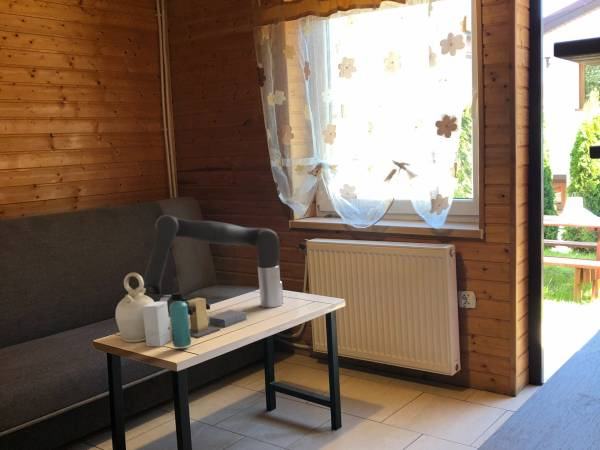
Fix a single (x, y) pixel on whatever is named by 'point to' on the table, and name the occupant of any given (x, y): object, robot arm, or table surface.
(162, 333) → the skincare box
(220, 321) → the grey metal rectangular block
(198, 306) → the tall wooden pillar
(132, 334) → the jug
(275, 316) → the table surface
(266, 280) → the robot arm
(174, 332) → the beverage bottle
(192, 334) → the flat gray metal plate
